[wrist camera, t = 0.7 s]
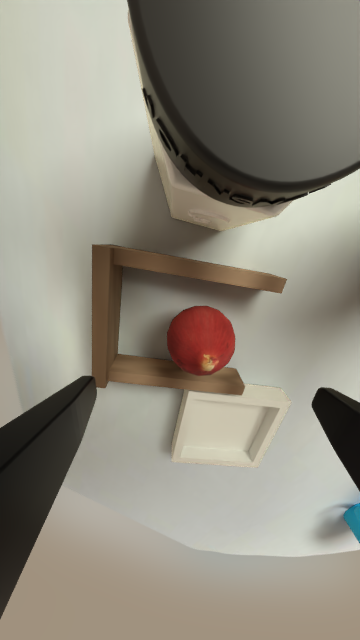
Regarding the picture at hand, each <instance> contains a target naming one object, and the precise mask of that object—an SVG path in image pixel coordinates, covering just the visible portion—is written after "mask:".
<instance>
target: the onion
mask: <svg viewBox="0 0 360 640" xmlns="http://www.w3.org/2000/svg"><path fill="white" fill-rule="evenodd" d="M167 346H168V350H169V352H170V355H171V357H172V360H173V361H174V362H175V363H176V364H177V365H178V366H179V367H180V368H181V369H182V370H183V371H185V372H187V373H190V374H193V375H196V376H205V375H211V374H213V373H215V372H217V371H219V370H221V369H222V368H223V367H224V366H225V365H226V364H228V362H229V361H230V359H231V357H232V355H233V353H234V350H235V334H234V331H233V327H232V324H231V322H230V321H229V320H228V319H227V318H226V317H225V316H224V315H223V314H222V313H221V312H220V311H219V310H217V309H214V308H211V307H209V306H194V307H191V308H188V309H185V310H183V311H182V312H181V313H179V314H178V315H177V316H176V317H175V318H174V319H173V320H172V322H171V325H170V327H169V330H168V332H167Z"/></svg>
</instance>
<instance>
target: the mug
mask: <svg viewBox="0 0 360 640" xmlns="http://www.w3.org/2000/svg"><path fill="white" fill-rule="evenodd" d="M344 519H345V521H346V522H347V524H348V526H349V527H350V529H351V530H352V532H353V533H354V535H355V537H356V538H357V540H358V541H359V543H360V503H359V504H356V505H354V506H353V507H351V508H349V509H348V510H347V511H346V512H345V514H344Z"/></svg>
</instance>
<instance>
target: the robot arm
mask: <svg viewBox="0 0 360 640" xmlns="http://www.w3.org/2000/svg"><path fill="white" fill-rule="evenodd" d="M96 396H97V390H96V380H95V377H94V376H82V377H80V378H78V379H77V380H75V381H74V382H72V383H71V384H69V385H67V386H66V387H64V388H63V389H61V390H60V391H58V392H56V393H55V394H53V395H52V396H50V397H48V398H47V399H45V400H44V401H42V402H41V403H39V404H37V405H36V406H34V407H33V408H31V409H29V410H28V411H26V412H25V413H23V414H22V415H20V416H18V417H17V418H15V419H14V420H12V421H11V422H9V423H7V424H6V425H4V426H3V427H1V428H0V619H1V616H2V614H3V612H4V610H5V607H6V606H7V603H8V601H9V599H10V597H11V594H12V592H13V590H14V588H15V586H16V584H17V581H18V579H19V577H20V575H21V573H22V571H23V568H24V566H25V564H26V562H27V560H28V557H29V555H30V553H31V550H32V549H33V546H34V544H35V542H36V540H37V538H38V535H39V533H40V531H41V529H42V527H43V524H44V522H45V520H46V518H47V516H48V513H49V511H50V509H51V507H52V505H53V503H54V500H55V498H56V496H57V494H58V492H59V489H60V487H61V485H62V483H63V481H64V479H65V476H66V474H67V472H68V470H69V468H70V465H71V463H72V461H73V459H74V457H75V454H76V452H77V450H78V448H79V446H80V443H81V441H82V438H83V435H84V433H85V430H86V427H87V424H88V421H89V418H90V415H91V412H92V409H93V406H94V403H95V400H96ZM312 408H313V410H314V412H315V414H316V416H317V418H318V420H319V422H320V424H321V426H322V428H323V430H324V432H325V434H326V435H327V437H328V439H329V441H330V443H331V445H332V447H333V449H334V450H335V452H336V454H337V455H338V457H339V459H340V460H341V462H342V463H343V465H344V467H345V468H346V470H347V472H348V473H349V475H350V476H351V478H352V480H353V481H354V483H355V484H356V486H357V488H358V489H359V491H360V403H359V402H357V401H355V400H353V399H352V398H350V397H348V396H346V395H344V394H342V393H340V392H338V391H336V390H334V389H332V388H323V387H321V388H319V389H318V390H317V392H316V394H315V397H314V399H313V401H312Z"/></svg>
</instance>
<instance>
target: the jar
mask: <svg viewBox="0 0 360 640" xmlns="http://www.w3.org/2000/svg"><path fill="white" fill-rule="evenodd" d="M127 2H128V7H129V10H128V23H129V28H130V34H131V39H132V44H133V49H134V54H135V59H136V64H137V69H138V74H139V79H140V84H141V89H142V94H143V100H144V105H145V110H146V115H147V120H148V125H149V130H150V135H151V140H152V145H153V150H154V155H155V159H156V162H157V166H158V170H159V173H160V177H161V180H162V184H163V188H164V191H165V195H166V199H167V202H168V206H169V209H170V213H171V216H172V217H173V218H176V219H179V220H183V221H186V222H190V223H194V224H197V225H201V226H205V227H208V228H212V229H216V230H219V231H224V230H228V229H232V228H235V227H239V226H243V225H246V224H250V223H254V222H257V221H261V220H265V219H268V218H272V217H276V216H278V215H279V214H280V213H281V212H282V211H283V210H284V209H285V208H286V207H287V206H288V205H289V204H290V203H291V202H292V201H293V200H296V199H298V198H301V197H304V196H307V195H308V192H309V193H312V192H315V191H317V190H320V189H323V188H325V187H327V186H329V185H331V183H333V182H335V181H337V180H340V179H342V178H344V177H346V176H348V175H349V174H351V173H353V172H355V171H356V170H358V169H360V0H127Z"/></svg>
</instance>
